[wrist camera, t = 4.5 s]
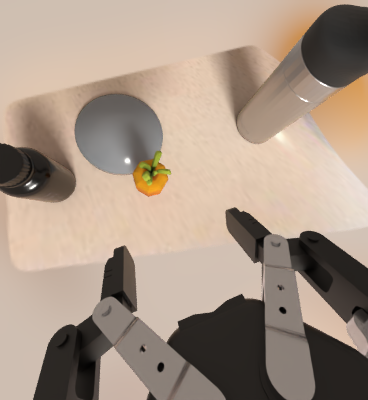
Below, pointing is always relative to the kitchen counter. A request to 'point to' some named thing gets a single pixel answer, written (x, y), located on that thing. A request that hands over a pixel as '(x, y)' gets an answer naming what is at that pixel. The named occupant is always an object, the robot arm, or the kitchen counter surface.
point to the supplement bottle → (33, 175)
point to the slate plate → (118, 133)
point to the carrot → (151, 176)
